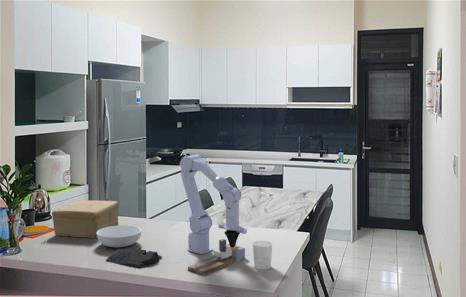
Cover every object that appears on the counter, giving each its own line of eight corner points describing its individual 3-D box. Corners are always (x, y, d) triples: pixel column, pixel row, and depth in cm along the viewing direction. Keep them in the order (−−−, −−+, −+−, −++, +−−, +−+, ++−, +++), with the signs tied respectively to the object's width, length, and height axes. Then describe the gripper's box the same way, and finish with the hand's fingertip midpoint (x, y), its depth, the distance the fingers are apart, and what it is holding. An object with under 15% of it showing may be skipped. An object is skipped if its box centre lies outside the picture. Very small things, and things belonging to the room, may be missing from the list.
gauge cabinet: (220, 257, 207) (220, 247, 207) (229, 253, 212) (229, 243, 211) (236, 261, 202) (236, 251, 201) (244, 257, 206) (244, 247, 206)
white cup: (270, 263, 199) (271, 240, 198) (273, 270, 191) (273, 246, 190) (252, 263, 199) (252, 240, 198) (253, 270, 191) (253, 246, 190)
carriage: (213, 257, 202) (213, 240, 201) (221, 254, 205) (221, 237, 205) (224, 260, 198) (224, 243, 197) (232, 257, 202) (231, 240, 201)
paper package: (78, 223, 266) (77, 198, 265) (121, 225, 261) (120, 200, 259) (51, 237, 240) (49, 210, 238) (97, 239, 235) (96, 212, 233)
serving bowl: (131, 253, 214) (130, 238, 213) (88, 250, 218) (88, 236, 217) (148, 239, 234) (148, 225, 233) (109, 237, 238) (108, 224, 238)
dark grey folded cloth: (125, 252, 217) (125, 241, 216) (165, 259, 207) (165, 248, 206) (102, 262, 203) (102, 251, 203) (143, 270, 193) (143, 259, 193)
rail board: (187, 270, 192) (187, 264, 192) (220, 257, 207) (220, 251, 207) (203, 275, 186) (203, 269, 186) (236, 261, 202) (236, 255, 201)
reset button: (226, 255, 206) (226, 246, 206) (232, 253, 209) (232, 244, 209) (233, 257, 204) (233, 248, 204) (238, 255, 207) (238, 246, 206)
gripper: (213, 215, 206) (214, 245, 208) (239, 221, 197) (239, 252, 198) (224, 212, 212) (224, 241, 213) (249, 217, 202) (249, 248, 204)
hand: (232, 246), depth 206 cm, fingers closed, pressing on reset button
